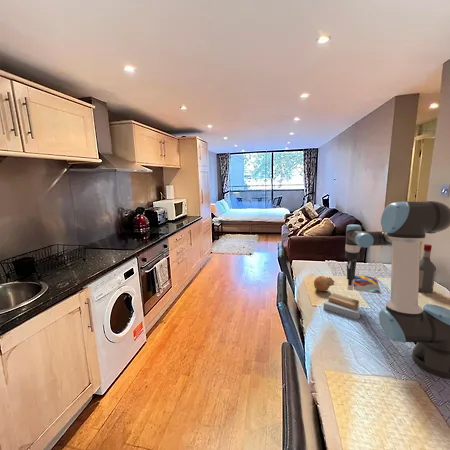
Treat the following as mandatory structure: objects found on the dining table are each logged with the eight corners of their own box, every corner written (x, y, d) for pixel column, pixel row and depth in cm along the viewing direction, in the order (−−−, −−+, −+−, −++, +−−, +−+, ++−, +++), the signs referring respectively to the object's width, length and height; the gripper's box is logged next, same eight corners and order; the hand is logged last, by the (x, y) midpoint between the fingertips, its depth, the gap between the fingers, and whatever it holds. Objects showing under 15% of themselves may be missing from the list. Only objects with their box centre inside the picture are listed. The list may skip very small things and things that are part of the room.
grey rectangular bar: (358, 319, 129) (358, 313, 128) (323, 308, 140) (323, 303, 140) (359, 317, 131) (360, 311, 131) (325, 306, 143) (325, 301, 142)
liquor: (417, 292, 156) (423, 246, 150) (410, 286, 165) (415, 242, 159) (434, 293, 154) (441, 247, 148) (426, 287, 162) (432, 243, 157)
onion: (327, 295, 156) (327, 280, 154) (311, 291, 162) (311, 277, 160) (331, 289, 163) (332, 275, 161) (316, 286, 169) (316, 272, 167)
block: (353, 315, 133) (354, 305, 132) (328, 306, 143) (328, 296, 142) (358, 310, 138) (358, 300, 137) (333, 302, 148) (333, 292, 147)
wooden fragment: (325, 292, 161) (325, 290, 160) (309, 287, 168) (309, 286, 168) (339, 279, 179) (339, 278, 179) (324, 276, 186) (324, 274, 186)
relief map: (381, 294, 156) (381, 291, 156) (353, 290, 162) (354, 287, 162) (375, 279, 179) (376, 276, 178) (352, 276, 185) (352, 273, 185)
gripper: (356, 254, 135) (354, 295, 139) (362, 249, 145) (359, 287, 148) (342, 252, 140) (340, 291, 144) (348, 247, 149) (346, 284, 153)
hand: (350, 289), depth 146 cm, fingers closed
